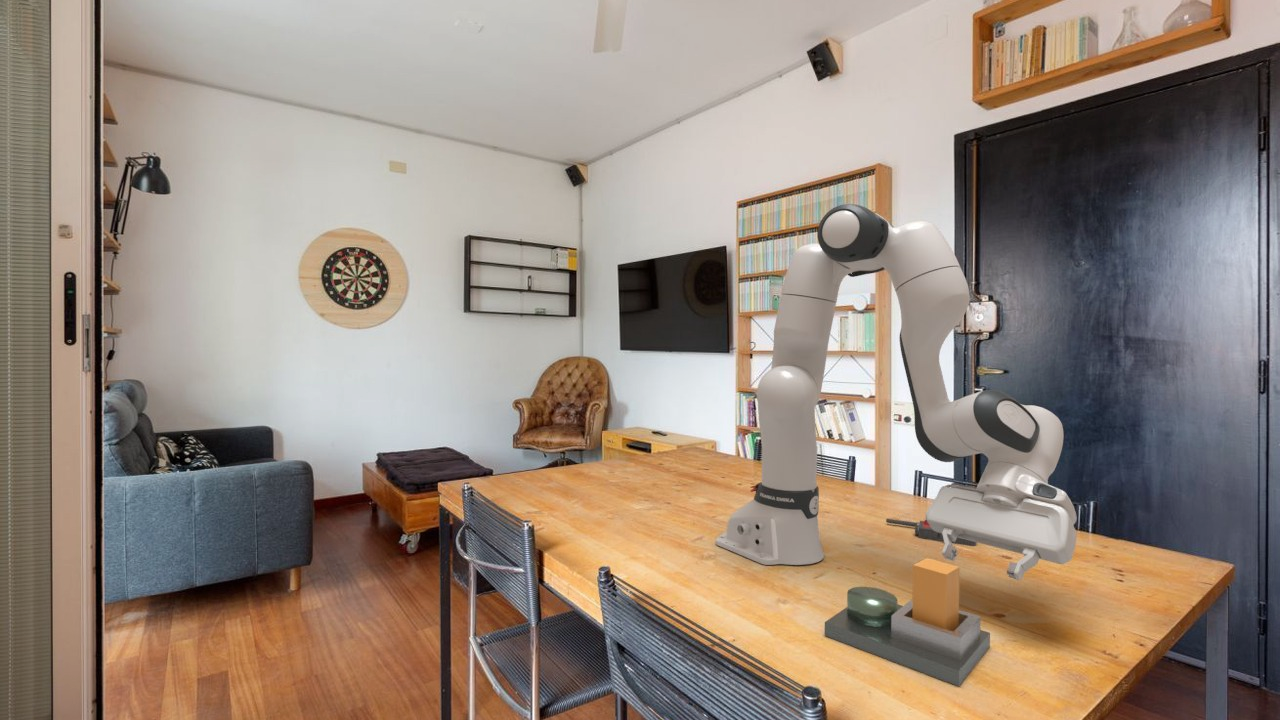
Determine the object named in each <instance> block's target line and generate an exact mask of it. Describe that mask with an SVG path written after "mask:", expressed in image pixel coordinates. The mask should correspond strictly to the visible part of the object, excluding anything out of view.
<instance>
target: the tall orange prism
mask: <svg viewBox="0 0 1280 720" xmlns="http://www.w3.org/2000/svg"><path fill="white" fill-rule="evenodd" d="M960 570H961V568H960V566H958V565H954V564H950V563H947V562H943V561H939V560H937V559H933V558H927V557H926V558H925V559H923V560H920V561H919V562H917V563H915V564H913V568H912V599H913V615H912V618H913V619H916V620H919V621H922V622H925V623H928V624H931V625H934V626H938V627H941V628H944V629H947V630H950V631H953V632H954V631H955V630H956V629H957V628H958V627H959V610H960V574H961V573H960Z"/></svg>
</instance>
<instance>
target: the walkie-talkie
mask: <svg viewBox="0 0 1280 720" xmlns="http://www.w3.org/2000/svg"><path fill="white" fill-rule="evenodd" d="M885 522H886V523H887V524H895V525H898V526H899V525H900V526H906V527H914V535H915V536H918V537H917V538H919V539H923V540H928V541H929V540H930V541H935V542H941V543H942V542H943V543H944V539H943V534H942V533H939V532H935V531H934V530H933V529H932V528H931V527H930V525H929V524H928V522H927V519H926V517H924V520H919V522H918V521H916V522H915V521H907V520H899V519H893V518H886V519H885ZM951 542H952V544H956V545H963V546H969V547H976V546H977V542H973V541H970V540H966V539H962V538H958V537H957V539H956V541H955V542H953V541H951Z"/></svg>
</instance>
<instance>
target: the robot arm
mask: <svg viewBox="0 0 1280 720" xmlns="http://www.w3.org/2000/svg"><path fill="white" fill-rule="evenodd" d="M946 239H947V238H945V236H944V235H943V233H942V232H941V231H940V229H939V228H938V227H937V226H936V224H934V223H931V222H930V221H925V220H917V221H911V222H907V223H905V224H903V225H900V226H896V227H895V226H893V225H892V224H891V223H889V221H888V220H887V219H886V218H884V217H883V216H882V215H880V214H879V213H876V212H874V211H872V210H871V209H869V208H868V207H866V206H863V205H859V204H855V203H854V204H853V203H843V204H840V205H837V206H835V207H832V208H831V209H830V210H828V212H827V213H825V214H824V216H823V217H822V219H821V220H820V222H819V225H818V227H817V241H818V243H808V244H805V245H802V246H800V247H798V248H797V249H796V250H795V251H794V252H793V254H792V257H791V259H790V262H789V265H788V267H787V270H786V273H785V277H784V280H783V282H782V283H783V284H782V288H781V293H780V296H779V297H780V298H779V303H778V308H777V313H776V318H775V324H774V328H773V348H772V358H771V359H772V361H771V369H770V370H768V371H766V372H765V373H764V375H762V377H761V378H760V380H759V381H758V385H757V387H756V401H757V412H758V421H759V423H758V424H759V432H760V437H761V482H759V483H756V484H755V485H753V486H752V485H751V486H750V487H749V488H750V493H752V492H753V493H754V492H755V494H754V496H753V499H752V500H750V501H749V502H748V503H746V504H744V505H743V506H741V507H740V508H738V509H737V510H736V511H734V512H732V514H731V515H730V516H729V519H728V522H727V528H726V532H723V533H721V534H720V535H718V536H717V538H716V540H715V545H716V546H718V547H721V548H723V549H725V550H728V551H731V552H732V553H735V554H737V555H740V556H742V557H745V558H747V559H749V560H751V561H754V562H756V563H758V564H761V565H767V566H771V565H789V566H793V565H794V566H801V565H802V566H803V565H804V566H805V565H812V564H815V563H818V562H820V561H822V560H823V559H824V558H825V553H824V550H823V547H822V541H821V536H820V532H819V531H820V530H819V523H818V521H819V520H818V515H819V508H820V506H819V505H820V499H819V498H820V495H819V493H820V492H819V491H820V489H819V486H817V482H818V481H817V480H818V479H817V477H818V473H817V472H818V471H817V470H818V446H817V435H816V416H815V415H816V414H815V413H816V412H815V409H816V408H815V407H816V406H817V404H818V403H819V401H820V399H821V398H820V397H821V393H822V387H823V381H824V376H825V370H826V362H827V356H828V349H829V342H830V336H831V331H832V327H833V320H834V316H835V311H836V307H837V301H838V295H839V292H840V291H839V290H840V288H841V284H842V281H843V279H844V278H845V277H846V276H848V277H850V278H854V277H855V278H856V277H859V276H860V277H861V276H865V275H868V274H875V273H879V272H883V271H886V272H887V275H889V278H890V280H891V283H892V285H893V288H894V291H895V293H896V297H897V300H898V305H899V310H900V319H901V320H900V321H901V327H900V332H899V347H900V353H901V358H902V363H903V366H904V370H905V375H906V379H907V383H908V388H909V393H910V396H911V400H912V405H913V411H914V413H913V414H914V433H915V436H916V440H917V442H918V444H919V446H920V447H921V448H922V450H924V452H925V453H926V454H927V455H929V456H930V457H932V458H933V459H934V460H937V461H939V462H941V463H953V462H955V461H956V462H957V461H959V460H962V459H964V458H967V457H969V456H973V455H978V454H982V455H984V456H986V458H987V460H988V461H987V464H986V466H985V468H984V470H983V472H982V474H981V477H980V480H979V482H978V484H977V486H972V485H964V484H960V483H957V482H956V483H955V482H952V483H951V484H947V485H944V486H941V487H940V488H939V491H938V492H937V496H935V498H934V499H933V501H932V502H931V504H930V505H929V507H928V509H927V511H926V512H925V518H926V519H927V522H928V524H929V525H930V527H931V528H932V529H933V530H934V531H935V532H939V533H942V534H943V539H944V542H943V543H944V546H943V548H942V551H941V555H942V557H943V558H944V559H947V560H949V561H953V562H955V561H956V558H957V556H958V554H959V552H958V550H957V548H956V547H955V546H954V545H953V543H952V542H951V541H953V542H955V541H956V539H957V537H958V538H962V539H966V540H970V541H973V542H976V544H980V545H981V544H982V545H986V546H989V547H993V548H996V549H1001V550H1004V551H1009V552H1013V553H1016V554H1020V555H1023V557H1022V558H1021V559H1019V560H1018V561H1017V562H1013V561H1009V564H1008V567H1007V569H1006V575H1008V577H1009V578H1011V579H1013V580H1018V581H1020V582H1021V581H1022V580H1023V577H1024V574H1025V572H1027V571H1029V570H1030V569H1032V568H1033V567H1035V566H1037V565H1038V563H1039V561H1040V560H1043V561H1047V562H1050V563H1054V564H1057V565H1058V564H1059V565H1065V564H1068V563H1069V562H1070V561H1072V559H1073V556H1074V553H1075V548H1076V544H1077V531H1076V528H1075V526H1074V525H1075V524H1076V523H1077V521H1078V520H1077V519H1078V517H1077V513H1076V509H1075V506H1074V504H1073V502H1072V501H1071V498H1070V497H1069V496H1068V494H1067V493H1066V491H1064V490H1063V489H1060V488H1059V487H1056V486H1053V485H1050V484H1049V481H1048V480H1049V478H1050V476H1051V475H1052V474H1053V473H1054V472H1055V469H1056V467H1057V466H1058V465H1057V464H1058V462H1059V460H1060V458H1061V457H1060V456H1061V453H1062V450H1063V445H1064V428H1063V427H1064V426H1063V423H1062V421H1061V420H1060V419H1059V417H1058V416H1057V415H1055V414H1054V413H1053V412H1052V411H1050V410H1048V409H1046V408H1045V407H1041V406H1037V405H1034V404H1033V405H1032V404H1031V405H1030V404H1029V405H1026V404H1021V403H1020V402H1019V401H1018V400H1016V399H1015V398H1014V397H1012V396H1011V395H1009V394H1008V393H1006V392H1004V391H1001V390H998V389H994V388H993V389H989V388H988V389H986V390H985V389H984V390H981V391H977V392H976V393H972V394H969V395H966V396H963V397H961V398H959V399H956V400H953V401H951V400H949V396H948V393H947V389H946V384H945V380H944V377H943V372H942V368H941V365H940V364H941V363H940V354H941V353H940V352H941V349H942V347H943V344H944V342H945V340H947V338H948V336H949V335H950V333H951V332H952V331H953V329H955V327H956V326H957V325H958V324H959V323H960V322H961V321H962V319H963V318H964V317H965V316H964V315H965V314H966V312H967V310H968V308H969V304H970V301H971V297H970V290H969V289H970V288H969V285H968V282H967V278H966V277H965V274H964V272H963V270H962V267H961V265H960V262H959V261H958V258H957V257H956V255H955V252H954V251H953V249H952V247H951V245H950V244H949V242H948V241H947V240H946Z"/></svg>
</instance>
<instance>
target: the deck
mask: <svg viewBox="0 0 1280 720" xmlns="http://www.w3.org/2000/svg"><path fill="white" fill-rule="evenodd" d="M846 595H847V601H846V603H847V605H846V607H845V608H843V609H842V610H841V611H839V612H837V613H836V614H834V615H833V616H831V617H829V618H828V619H827V620H826V621H824V636H825V637H827V638H830V639H832V640H835V641H838V642H840V643H842V644H845V645H848V646H851V647H854V648H856V649H859V650H862V651H864V652H867V653H870V654H872V655H874V656H878V657H880V658H882V659H885V660H887V661H889V662H890V661H891V662H894V663H896V664H898V665H901V666H904V667H906V668H909V669H911V670H914V671H916V672H920V673H922V674H925V675H927V676H930V677H933V678H935V679H938V680H941V681H943V682H946V683H949V684H950V685H954V686H956V687H960V686H961V685H962V684H963V683H964V681H965V680H966V679H967V677H968V676H969V675H970V673H971V672H972V670H974V668H975V667H976V665H977V664H978V663H979V662H980V660H981V659H982V658H983V656H984V655H985V654H986V653H987V652H988V651H989V649H990V647H991V632H989V631H985V630H983V629H981V620H982V619H981V615H978V614H974V613H971V612H967V611H964V610H960V609H959V627H958V628H957V629H956V630H955V631H954V632H953V631H950V630H947V629H944V628H941V627H938V626H934V625H931V624H928V623H925V622H922V621H919V620H916V619H913V618H912V615H913V598H911V599H910V600H909V601H908V602H906V603H905V604H904V605H901V604H899V603H898V598H897V597H896V596H895V595H894V594H892V593H891V592H890V591H887V590H884V589H880V588H877V587H871V586H856V587H852V588H849V589H848V591H847V592H846Z"/></svg>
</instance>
